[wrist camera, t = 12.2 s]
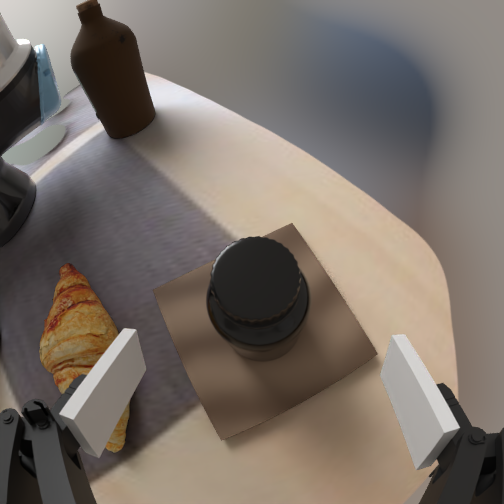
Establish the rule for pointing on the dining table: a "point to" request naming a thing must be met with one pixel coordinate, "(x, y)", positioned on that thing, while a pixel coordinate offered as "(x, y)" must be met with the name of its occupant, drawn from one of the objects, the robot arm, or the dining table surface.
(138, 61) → the olive oil
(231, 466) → the dining table surface
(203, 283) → the brown cloth napkin
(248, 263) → the supplement bottle
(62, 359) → the croissant
